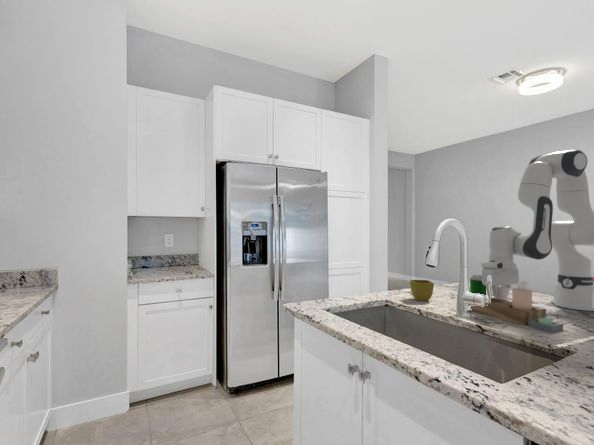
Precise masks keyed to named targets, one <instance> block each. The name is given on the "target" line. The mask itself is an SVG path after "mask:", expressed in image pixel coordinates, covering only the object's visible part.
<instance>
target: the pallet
mask: <svg viewBox="0 0 594 445" xmlns="http://www.w3.org/2000/svg"><path fill="white" fill-rule="evenodd" d="M471 309H472V311H471V312H473V313H478V314H481V315H485V316H488V317H491V318H496V319H498V320H499V319H500V320H503V321H508V322H511V323H516V324H519V325H522V326H528V324H529V321H530V320H535V319H538V318H547V308H544V307H540V306H535V305H532V310H528V311H525V310H521V309H516V308H512V300H507V301H506V300H502V299H497V298H494V297H492V298H491V303H489V304H488V306H486V307H481V306H471Z"/></svg>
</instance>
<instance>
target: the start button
mask: <svg viewBox="0 0 594 445" xmlns="http://www.w3.org/2000/svg"><path fill="white" fill-rule="evenodd" d="M538 322H539V323H543V324H547V325H552V324H553V322H554V320H553V319H552V318H549V317H546V318H538Z"/></svg>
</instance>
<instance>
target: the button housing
mask: <svg viewBox="0 0 594 445" xmlns="http://www.w3.org/2000/svg"><path fill="white" fill-rule="evenodd" d="M527 326H528V327H529V328H532V329H536V330H539V331H543V332H547V333H556V332H562V331H564V323H559V322H556V321H553V324H552V325H547V324H543V323H539V322H538V319H535V320H530V321H529V324H528V325H527Z"/></svg>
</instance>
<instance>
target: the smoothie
mask: <svg viewBox="0 0 594 445" xmlns="http://www.w3.org/2000/svg"><path fill="white" fill-rule="evenodd" d="M497 292H499V296H493V298H497V299H502V300H506V301H508V297H509V295H508V292H509V293H510V290H509V288H508V287H505V286H504V285H501V286H497Z"/></svg>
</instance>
